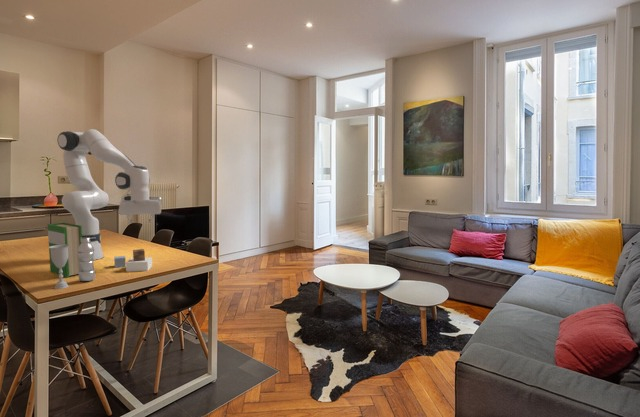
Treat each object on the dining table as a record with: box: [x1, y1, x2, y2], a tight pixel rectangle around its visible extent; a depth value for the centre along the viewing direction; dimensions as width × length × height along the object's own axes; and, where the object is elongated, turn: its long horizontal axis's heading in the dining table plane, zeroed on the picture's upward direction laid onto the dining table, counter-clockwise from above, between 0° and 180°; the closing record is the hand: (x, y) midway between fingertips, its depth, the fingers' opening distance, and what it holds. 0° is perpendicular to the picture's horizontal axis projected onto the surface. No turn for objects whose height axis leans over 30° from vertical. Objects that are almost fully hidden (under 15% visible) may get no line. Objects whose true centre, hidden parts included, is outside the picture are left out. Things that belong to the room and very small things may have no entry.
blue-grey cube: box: [113, 255, 127, 269], centre depth 195 cm, size 5×5×5 cm
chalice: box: [48, 245, 69, 290], centre depth 159 cm, size 7×7×18 cm
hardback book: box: [47, 222, 82, 279], centre depth 180 cm, size 18×7×24 cm, turn 57°
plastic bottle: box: [77, 237, 96, 282], centre depth 168 cm, size 6×7×20 cm
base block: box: [125, 256, 153, 273], centre depth 191 cm, size 10×10×5 cm
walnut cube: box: [132, 248, 146, 261], centre depth 190 cm, size 5×5×5 cm
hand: (140, 222), depth 196 cm, fingers open, 8 cm apart
